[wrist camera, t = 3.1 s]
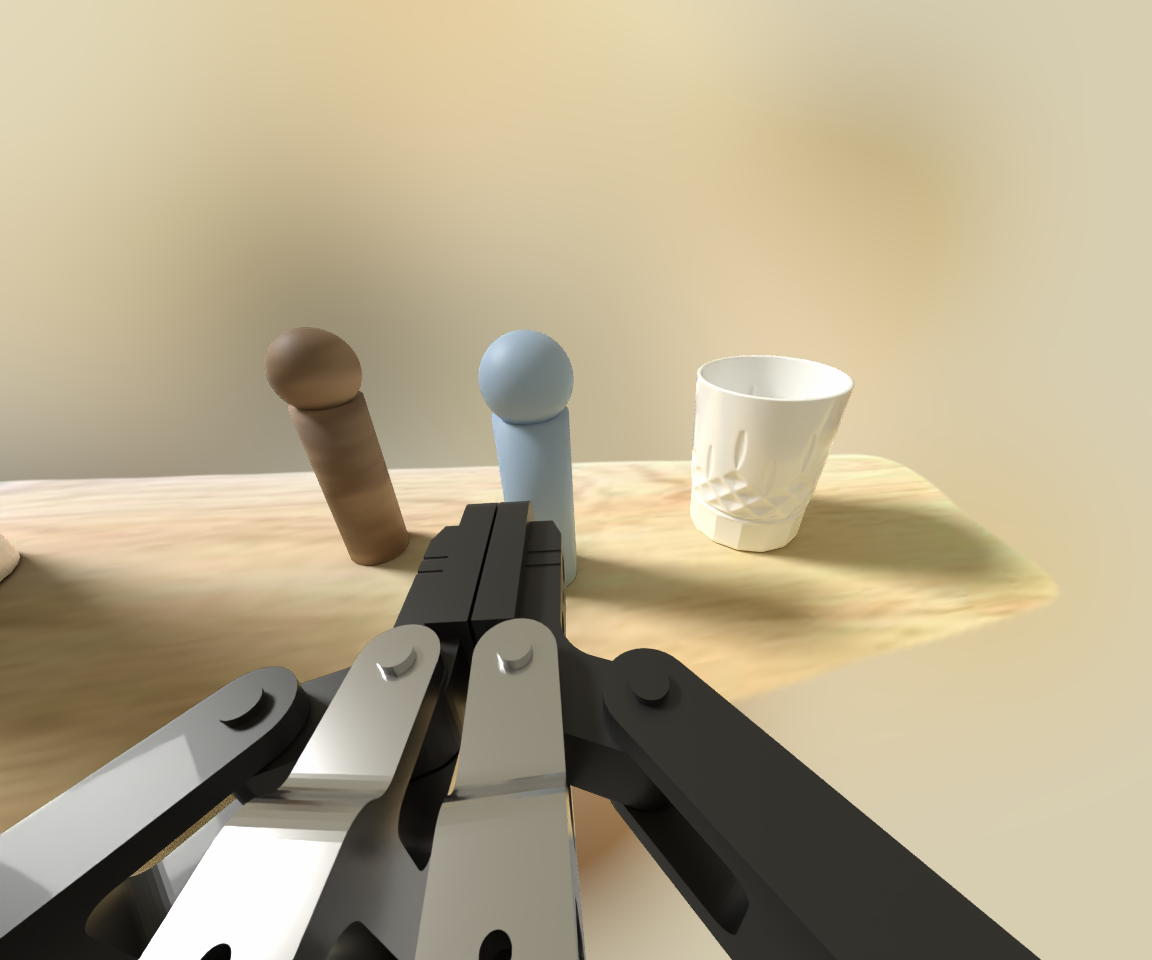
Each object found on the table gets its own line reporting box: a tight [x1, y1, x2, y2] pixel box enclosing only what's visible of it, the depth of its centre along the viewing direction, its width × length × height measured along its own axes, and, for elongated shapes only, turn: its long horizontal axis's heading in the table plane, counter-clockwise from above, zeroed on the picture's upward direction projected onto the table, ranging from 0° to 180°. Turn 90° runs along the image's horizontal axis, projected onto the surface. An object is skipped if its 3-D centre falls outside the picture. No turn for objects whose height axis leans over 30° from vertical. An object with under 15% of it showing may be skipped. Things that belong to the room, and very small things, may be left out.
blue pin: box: [479, 330, 577, 587], centre depth 21 cm, size 4×4×14 cm
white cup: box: [690, 355, 854, 552], centre depth 26 cm, size 8×8×10 cm
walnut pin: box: [264, 327, 409, 565], centre depth 24 cm, size 4×4×14 cm
